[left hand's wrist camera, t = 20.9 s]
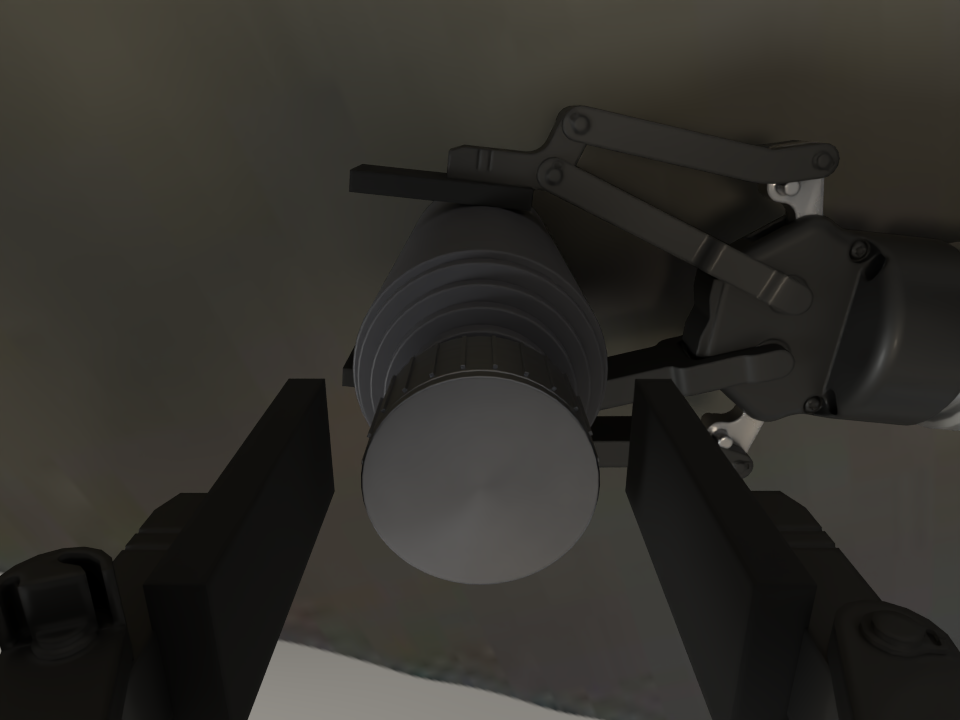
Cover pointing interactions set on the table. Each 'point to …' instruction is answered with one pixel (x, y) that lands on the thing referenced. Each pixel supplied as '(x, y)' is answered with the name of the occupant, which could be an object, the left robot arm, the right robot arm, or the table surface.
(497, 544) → the cap
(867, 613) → the left robot arm
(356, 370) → the bottle
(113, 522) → the table surface
